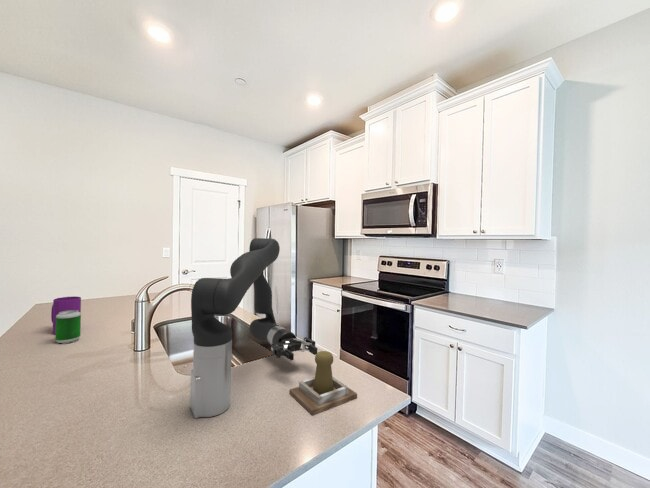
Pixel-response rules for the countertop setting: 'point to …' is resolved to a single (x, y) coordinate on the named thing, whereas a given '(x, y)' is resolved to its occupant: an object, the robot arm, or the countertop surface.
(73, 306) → the mug
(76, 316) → the soda can
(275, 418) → the countertop surface
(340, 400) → the spice dock
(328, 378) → the olive pawn figure
